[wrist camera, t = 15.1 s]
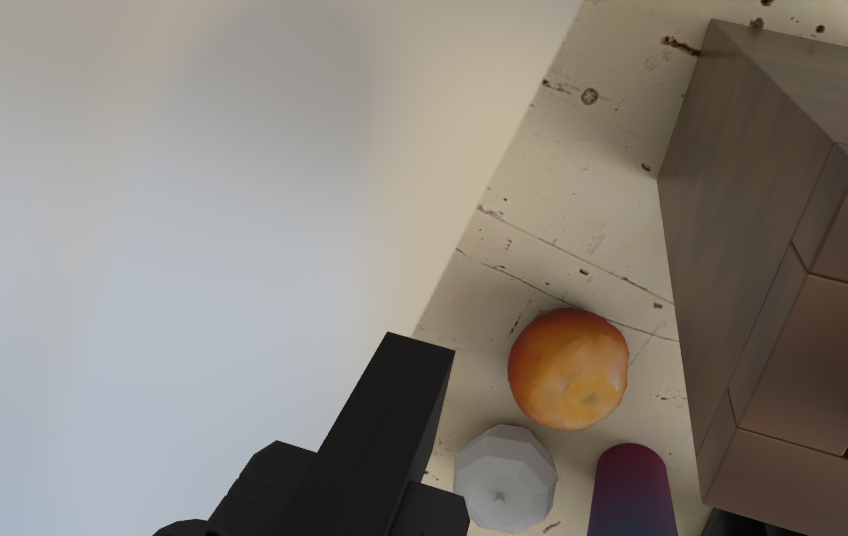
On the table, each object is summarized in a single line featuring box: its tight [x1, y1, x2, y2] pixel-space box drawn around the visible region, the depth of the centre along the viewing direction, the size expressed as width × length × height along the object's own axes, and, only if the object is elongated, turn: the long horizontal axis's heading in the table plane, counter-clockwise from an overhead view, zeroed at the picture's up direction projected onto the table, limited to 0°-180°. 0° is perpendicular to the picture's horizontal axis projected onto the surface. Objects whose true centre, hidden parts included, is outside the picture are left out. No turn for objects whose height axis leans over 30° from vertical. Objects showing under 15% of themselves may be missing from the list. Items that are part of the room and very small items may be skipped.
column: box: [657, 19, 848, 536], centre depth 31 cm, size 10×10×30 cm
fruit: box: [508, 308, 629, 431], centre depth 51 cm, size 8×8×8 cm
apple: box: [453, 424, 557, 534], centre depth 55 cm, size 8×8×7 cm
